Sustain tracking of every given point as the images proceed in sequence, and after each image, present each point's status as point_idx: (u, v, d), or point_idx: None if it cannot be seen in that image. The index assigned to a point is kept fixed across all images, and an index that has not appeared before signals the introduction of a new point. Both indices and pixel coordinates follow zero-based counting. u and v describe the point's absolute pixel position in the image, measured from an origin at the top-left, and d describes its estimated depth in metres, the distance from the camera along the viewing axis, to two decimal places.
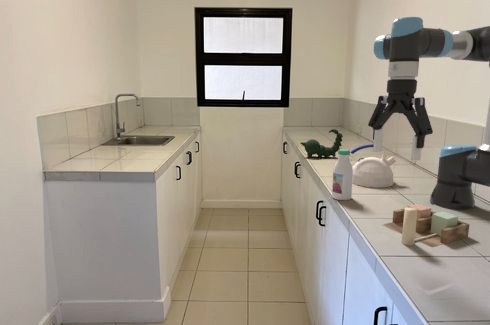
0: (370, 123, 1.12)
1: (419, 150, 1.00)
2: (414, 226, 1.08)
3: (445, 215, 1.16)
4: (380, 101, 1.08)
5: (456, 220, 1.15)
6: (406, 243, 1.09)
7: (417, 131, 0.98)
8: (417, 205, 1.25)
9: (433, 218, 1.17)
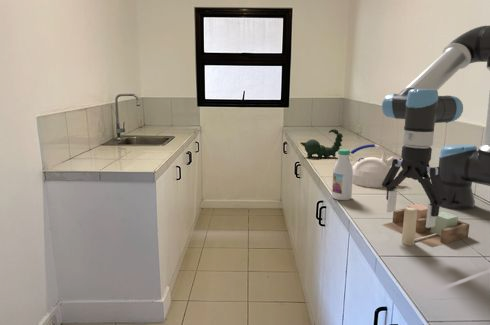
0: (384, 184, 1.14)
1: (434, 217, 1.02)
2: (414, 226, 1.08)
3: (445, 215, 1.16)
4: (394, 164, 1.10)
5: (456, 220, 1.15)
6: (406, 243, 1.09)
7: (432, 200, 1.00)
8: (417, 205, 1.25)
9: None
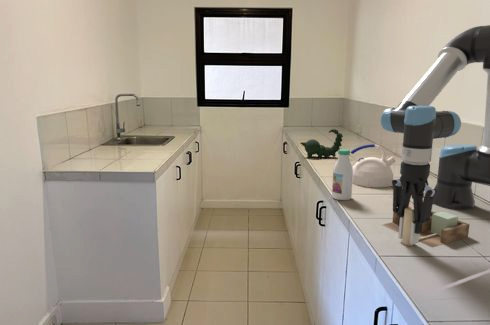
0: (394, 209, 1.12)
1: (417, 234, 1.08)
2: None
3: (445, 215, 1.16)
4: (395, 184, 1.11)
5: (456, 220, 1.15)
6: (406, 243, 1.09)
7: (416, 219, 1.05)
8: None
9: (433, 218, 1.17)
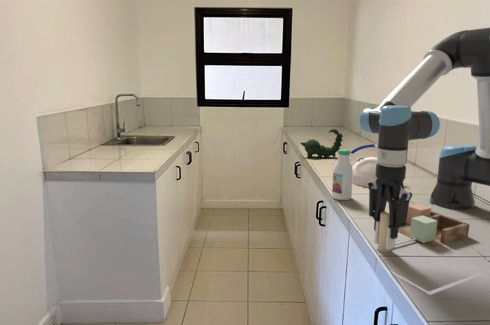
0: (370, 213, 1.08)
1: (393, 239, 1.03)
2: None
3: (424, 219, 1.11)
4: (371, 187, 1.07)
5: (435, 224, 1.10)
6: (382, 248, 1.05)
7: (392, 223, 1.01)
8: (417, 205, 1.25)
9: (412, 222, 1.12)
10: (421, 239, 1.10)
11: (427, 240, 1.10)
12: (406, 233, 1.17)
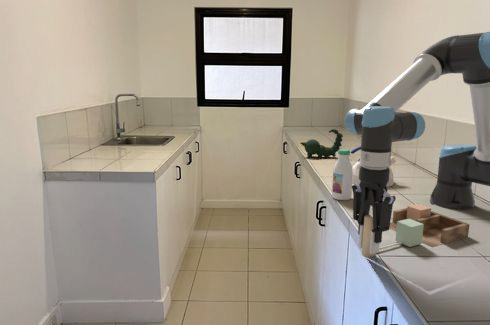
0: (354, 216, 1.05)
1: (377, 243, 1.01)
2: None
3: (410, 222, 1.09)
4: (355, 190, 1.04)
5: (421, 228, 1.08)
6: (366, 253, 1.02)
7: (375, 227, 0.98)
8: (417, 205, 1.25)
9: (398, 226, 1.10)
10: (407, 243, 1.07)
11: (413, 244, 1.07)
12: None
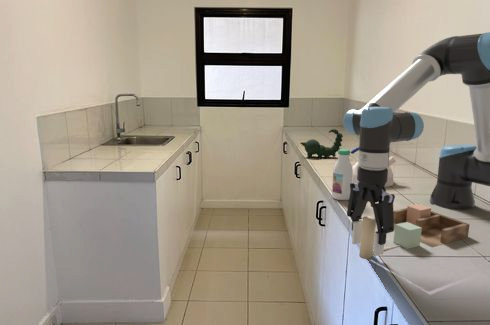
0: (348, 213, 1.06)
1: (381, 245, 0.99)
2: (372, 236, 1.01)
3: (408, 226, 1.09)
4: (352, 189, 1.04)
5: (420, 232, 1.08)
6: (364, 254, 1.02)
7: (379, 228, 0.96)
8: (417, 205, 1.25)
9: (396, 229, 1.10)
10: (404, 246, 1.07)
11: (411, 247, 1.07)
12: None
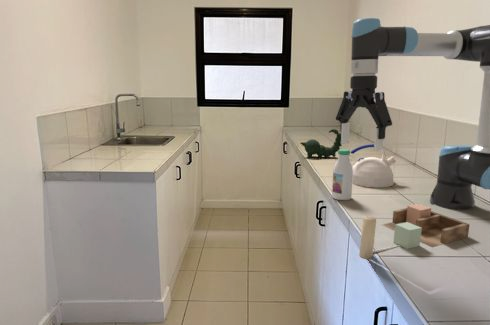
0: (337, 117, 1.20)
1: (381, 141, 1.08)
2: (372, 236, 1.01)
3: (408, 226, 1.09)
4: (345, 96, 1.16)
5: (420, 232, 1.08)
6: (364, 254, 1.02)
7: (378, 123, 1.06)
8: (417, 205, 1.25)
9: (396, 229, 1.10)
10: (404, 246, 1.07)
11: (411, 247, 1.07)
12: None
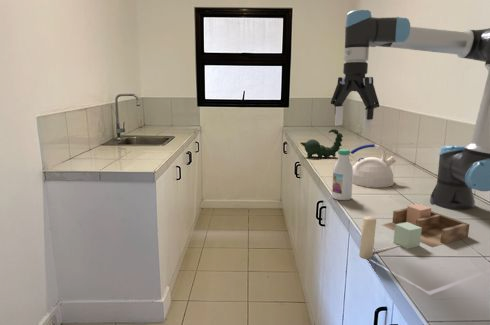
0: (332, 101, 1.32)
1: (369, 121, 1.20)
2: (372, 236, 1.01)
3: (408, 226, 1.09)
4: (339, 82, 1.28)
5: (420, 232, 1.08)
6: (364, 254, 1.02)
7: (367, 105, 1.17)
8: (417, 205, 1.25)
9: (396, 229, 1.10)
10: (404, 246, 1.07)
11: (411, 247, 1.07)
12: None
